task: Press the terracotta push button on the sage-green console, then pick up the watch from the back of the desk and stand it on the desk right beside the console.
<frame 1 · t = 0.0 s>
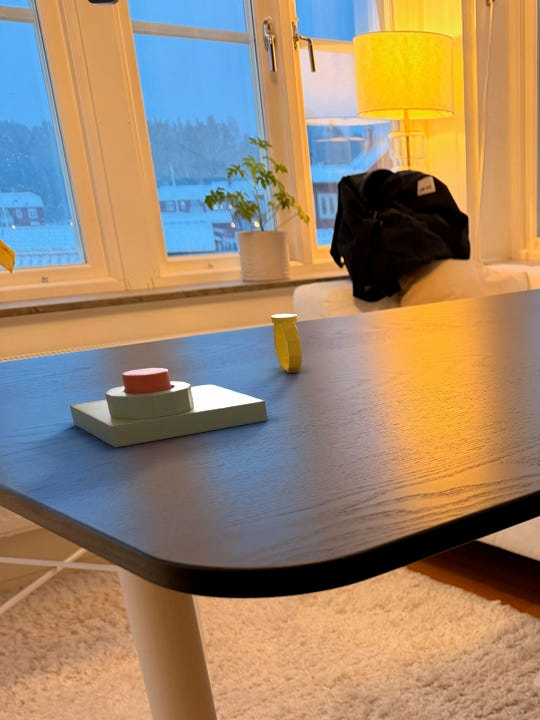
start button: (147, 382, 72), point 4 cm above the table, slide at 0.1 cm
console: (169, 422, 77), on the table
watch: (290, 372, 100), on the table
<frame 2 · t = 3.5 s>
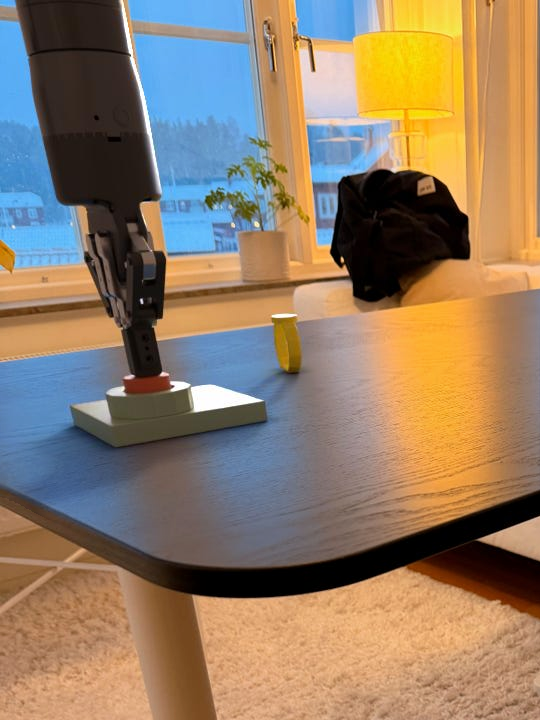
hand: (147, 375, 72), 5 cm above the table, tool pointing down, fingers closed
start button: (147, 386, 72), point 4 cm above the table, slide at -0.2 cm, touching gripper
everything else where it was.
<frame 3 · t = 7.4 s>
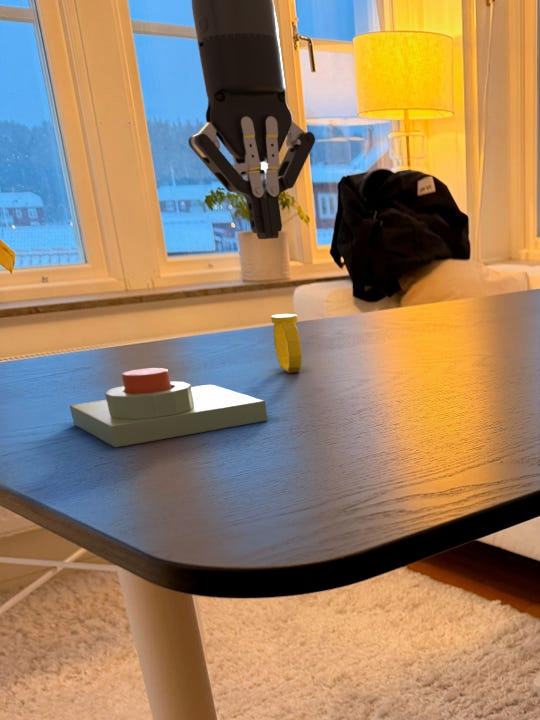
hand: (267, 238, 91), 14 cm above the table, tool pointing down, fingers closed
start button: (147, 382, 72), point 4 cm above the table, slide at 0.1 cm
everything else where it was.
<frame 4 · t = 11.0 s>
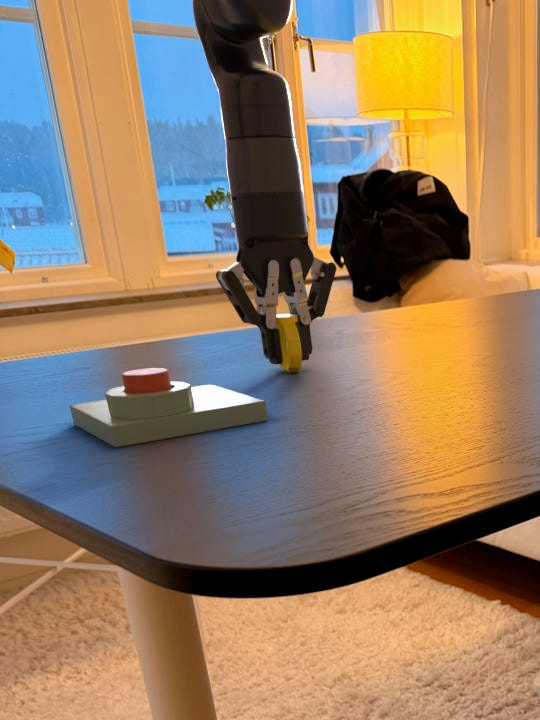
hand: (289, 360, 99), 1 cm above the table, tool pointing down, fingers closed on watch, 2 cm apart
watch: (290, 372, 100), on the table, touching gripper
everything else where it was.
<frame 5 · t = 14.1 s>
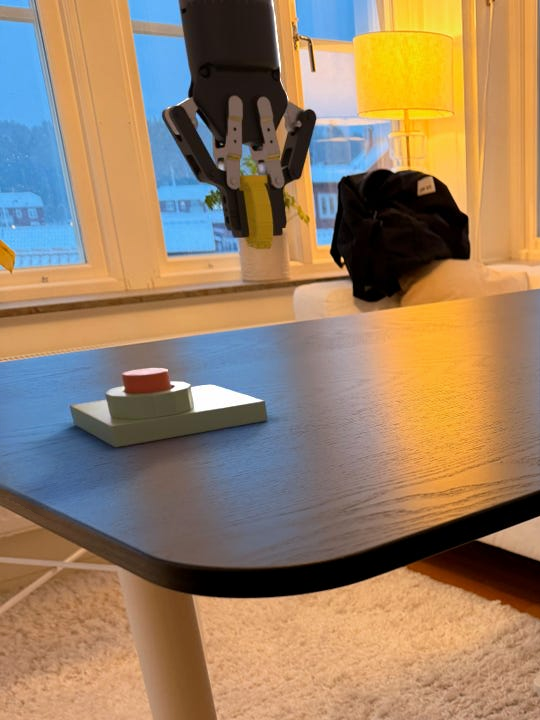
hand: (257, 235, 79), 14 cm above the table, tool pointing down, fingers closed on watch, 2 cm apart
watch: (260, 251, 80), point 13 cm above the table, touching gripper
everything else where it was.
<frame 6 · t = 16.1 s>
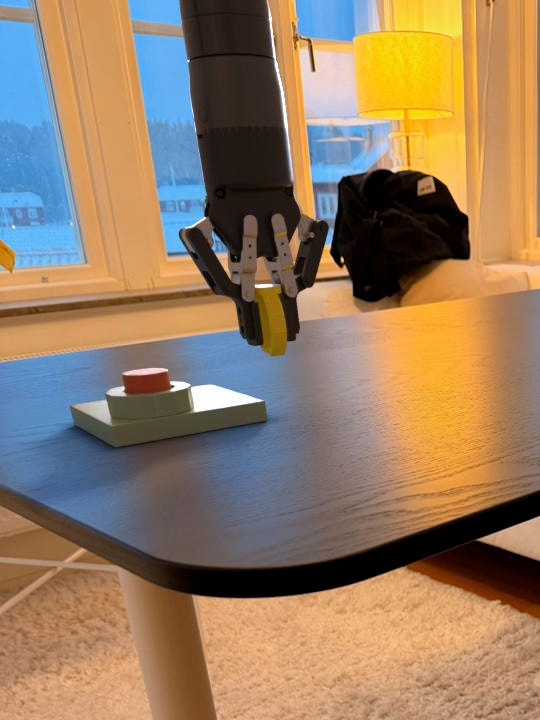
hand: (271, 341, 81), 5 cm above the table, tool pointing down, fingers closed on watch, 2 cm apart
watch: (274, 356, 82), point 4 cm above the table, touching gripper
everything else where it was.
when the fingers open (1 cm above the table, at t = 17.4 s): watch stays where it is, on the table.
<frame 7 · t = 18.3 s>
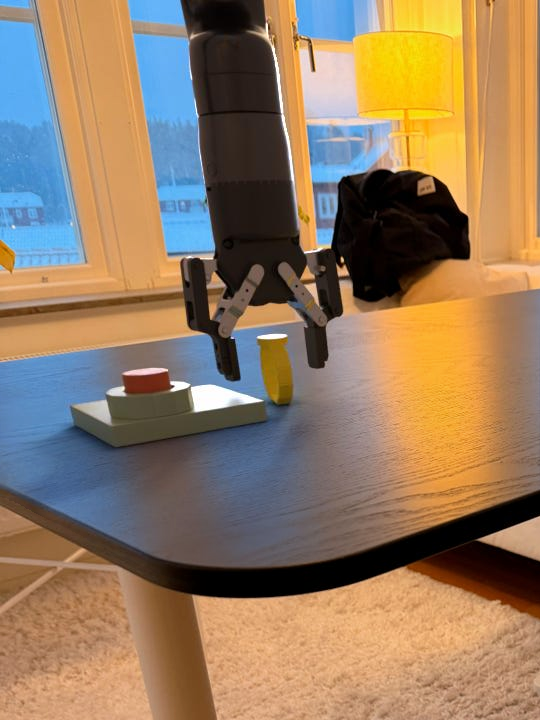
hand: (275, 374, 82), 3 cm above the table, tool pointing down, fingers open, 8 cm apart
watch: (280, 403, 84), on the table
everything else where it was.
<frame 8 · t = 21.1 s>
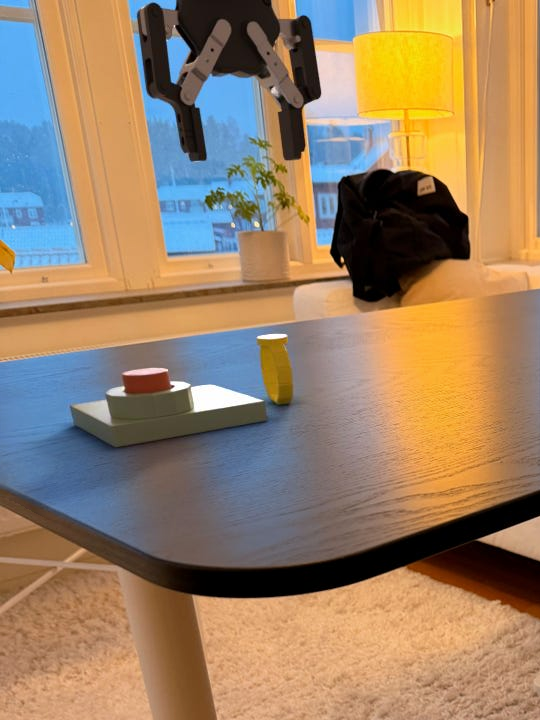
hand: (246, 160, 75), 20 cm above the table, tool pointing down, fingers open, 8 cm apart
nothing on the table moved.
at the end: start button pushed in 1.2 cm at the most during the clip, back to where it started at the end; start button slide at 0.1 cm; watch inside the target area on the table beside the console (0.5 cm from its centre), on the table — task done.
